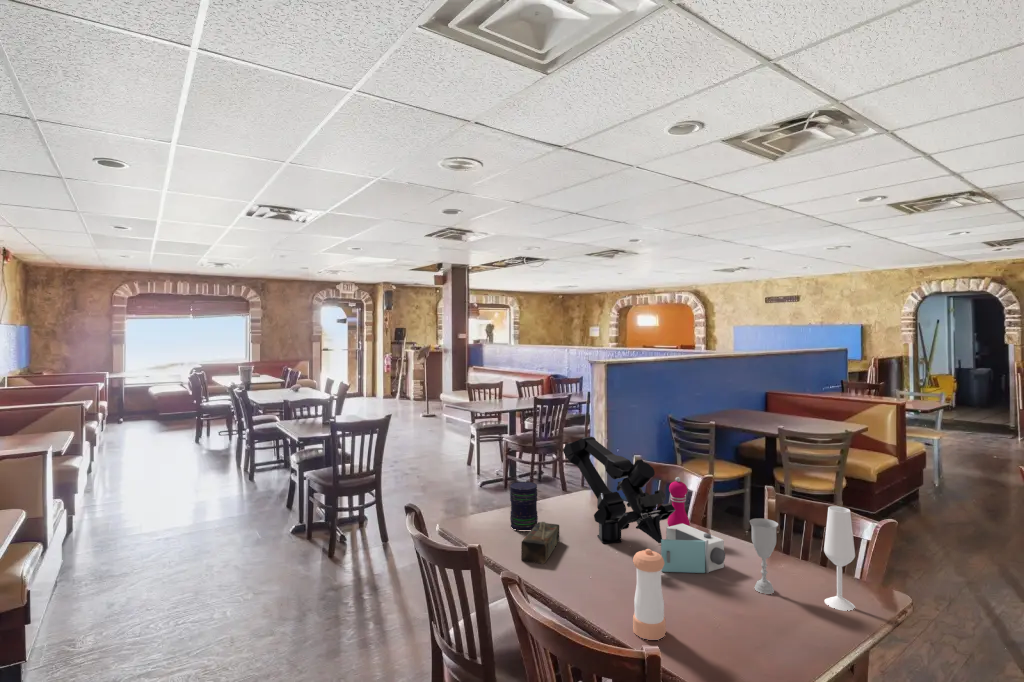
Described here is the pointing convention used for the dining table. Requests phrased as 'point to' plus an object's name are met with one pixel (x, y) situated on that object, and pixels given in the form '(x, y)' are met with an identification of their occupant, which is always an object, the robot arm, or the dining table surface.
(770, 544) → the chalice
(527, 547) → the beverage carton
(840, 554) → the champagne flute
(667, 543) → the hatch
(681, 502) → the pepper mill
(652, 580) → the salt shaker
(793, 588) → the dining table surface
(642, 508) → the robot arm
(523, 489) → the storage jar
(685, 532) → the case
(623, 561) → the dining table surface
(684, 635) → the dining table surface
